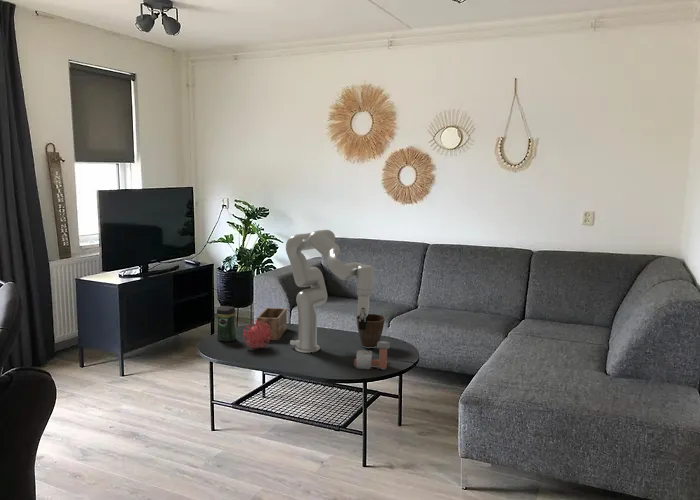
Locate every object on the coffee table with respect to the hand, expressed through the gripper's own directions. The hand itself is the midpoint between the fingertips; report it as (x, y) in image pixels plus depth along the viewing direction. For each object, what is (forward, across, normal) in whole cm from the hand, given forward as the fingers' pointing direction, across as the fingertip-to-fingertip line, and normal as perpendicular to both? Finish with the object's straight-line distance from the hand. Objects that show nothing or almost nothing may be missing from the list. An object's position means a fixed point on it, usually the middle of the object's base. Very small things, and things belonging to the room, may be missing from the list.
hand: (363, 326), depth 269 cm
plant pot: (+20, -28, +2) cm, 34 cm away
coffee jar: (+21, -29, -76) cm, 84 cm away
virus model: (+21, -17, -56) cm, 62 cm away
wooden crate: (+21, -43, -54) cm, 72 cm away
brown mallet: (+19, +2, +5) cm, 20 cm away
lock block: (+19, +2, +1) cm, 19 cm away
